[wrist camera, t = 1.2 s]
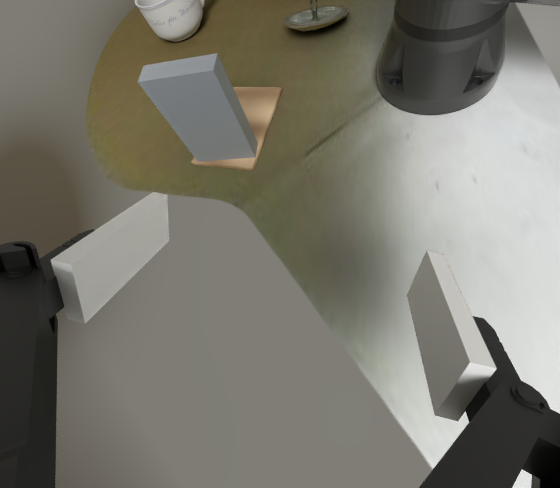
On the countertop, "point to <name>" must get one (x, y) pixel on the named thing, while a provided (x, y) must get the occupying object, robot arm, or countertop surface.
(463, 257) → the countertop surface
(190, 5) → the teacup
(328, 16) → the lid
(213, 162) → the mat
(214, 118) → the grey flat block
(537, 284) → the countertop surface
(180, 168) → the countertop surface
